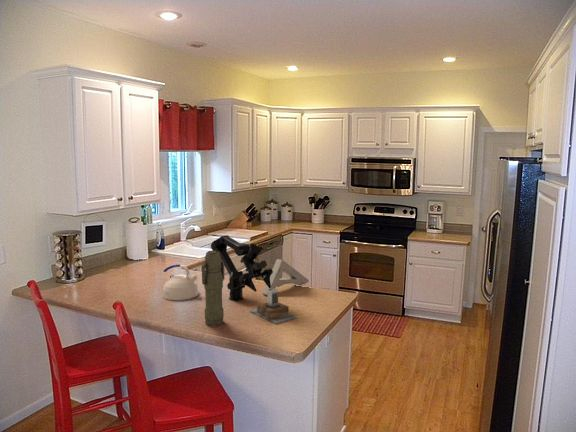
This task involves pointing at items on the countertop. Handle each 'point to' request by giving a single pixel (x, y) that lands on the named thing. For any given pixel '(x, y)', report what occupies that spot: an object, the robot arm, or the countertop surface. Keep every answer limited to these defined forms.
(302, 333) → the countertop surface
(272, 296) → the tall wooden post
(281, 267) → the wall bracket
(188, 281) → the kettle
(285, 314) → the slotted post block
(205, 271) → the olive cylinder
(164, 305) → the countertop surface
